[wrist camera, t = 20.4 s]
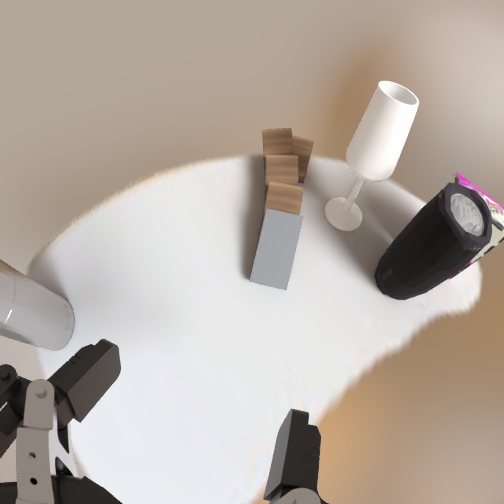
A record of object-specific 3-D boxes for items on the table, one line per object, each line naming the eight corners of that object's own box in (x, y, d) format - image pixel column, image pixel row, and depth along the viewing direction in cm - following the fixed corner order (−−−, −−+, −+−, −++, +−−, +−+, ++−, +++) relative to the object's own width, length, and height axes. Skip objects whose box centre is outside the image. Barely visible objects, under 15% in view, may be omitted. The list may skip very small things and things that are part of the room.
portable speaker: (414, 253, 40) (483, 184, 23) (418, 308, 37) (505, 256, 19) (370, 247, 41) (432, 166, 23) (372, 304, 37) (454, 245, 19)
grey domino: (286, 290, 36) (303, 216, 36) (249, 281, 36) (266, 208, 37) (285, 288, 38) (301, 218, 38) (250, 280, 38) (266, 211, 39)
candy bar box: (453, 257, 40) (509, 210, 25) (449, 280, 38) (511, 236, 23) (407, 228, 43) (456, 169, 28) (401, 251, 41) (456, 193, 26)
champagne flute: (354, 195, 45) (406, 80, 23) (368, 228, 42) (438, 116, 21) (319, 198, 45) (359, 73, 23) (331, 233, 42) (389, 108, 20)
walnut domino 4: (304, 177, 45) (313, 140, 49) (275, 169, 45) (288, 134, 49) (302, 184, 46) (312, 148, 50) (274, 177, 47) (287, 141, 51)
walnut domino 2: (298, 217, 40) (298, 155, 41) (264, 217, 41) (266, 154, 41) (297, 220, 42) (297, 160, 43) (265, 219, 43) (266, 159, 43)
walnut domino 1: (296, 181, 43) (291, 128, 43) (265, 183, 43) (262, 129, 44) (296, 185, 45) (290, 133, 45) (266, 187, 45) (262, 135, 46)
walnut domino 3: (291, 256, 38) (303, 187, 39) (256, 249, 39) (269, 181, 39) (290, 256, 40) (302, 191, 41) (257, 250, 41) (269, 185, 41)
